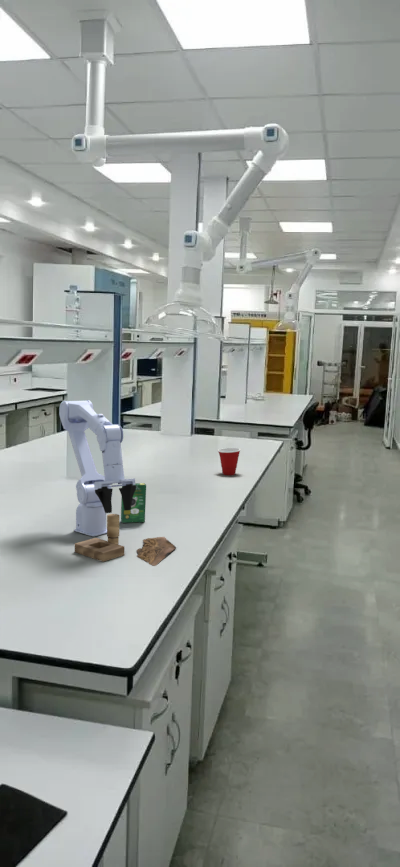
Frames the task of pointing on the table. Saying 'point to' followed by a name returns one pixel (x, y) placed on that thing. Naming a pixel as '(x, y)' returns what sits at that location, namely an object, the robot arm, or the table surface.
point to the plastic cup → (229, 460)
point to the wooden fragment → (155, 550)
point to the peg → (113, 528)
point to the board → (99, 549)
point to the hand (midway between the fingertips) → (118, 511)
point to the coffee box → (135, 506)
